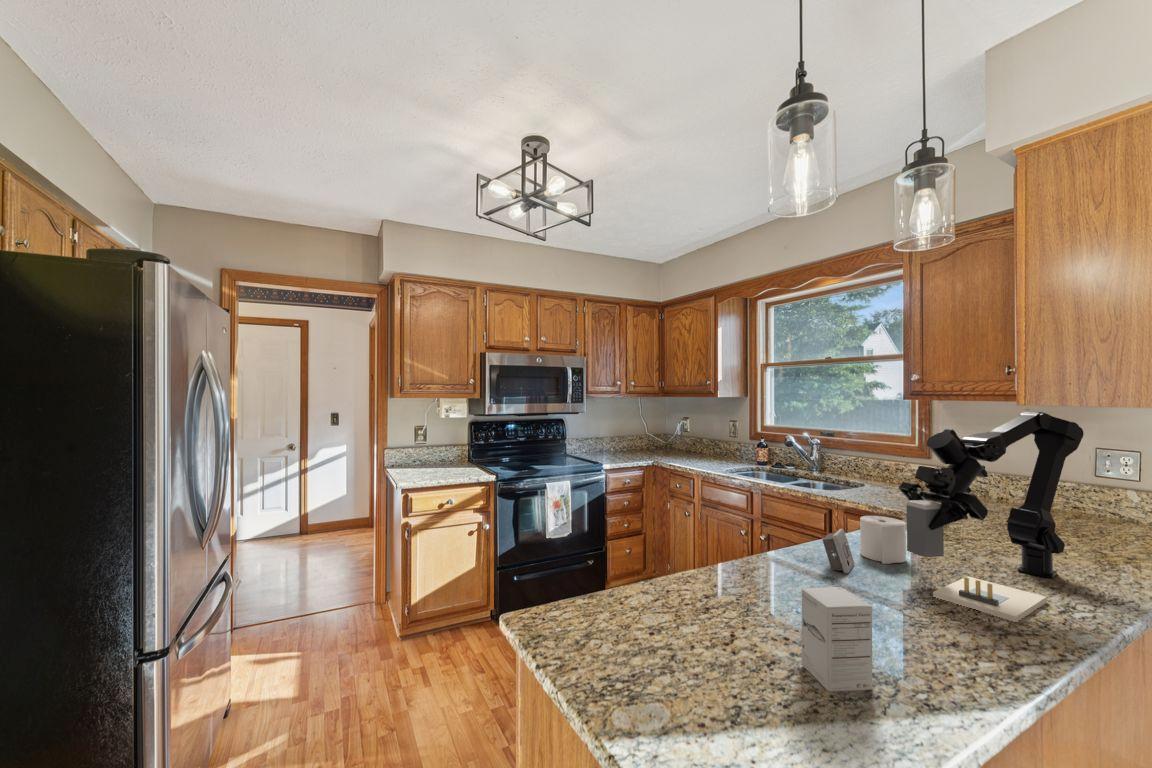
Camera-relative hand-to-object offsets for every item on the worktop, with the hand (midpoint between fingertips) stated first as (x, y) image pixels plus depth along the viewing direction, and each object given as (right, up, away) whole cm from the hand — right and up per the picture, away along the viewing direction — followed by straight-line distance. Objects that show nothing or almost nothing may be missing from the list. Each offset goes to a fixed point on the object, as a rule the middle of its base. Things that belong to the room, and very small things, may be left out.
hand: (919, 525), depth 116 cm
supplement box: (-41, -12, -40) cm, 59 cm away
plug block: (+1, -7, 0) cm, 7 cm away
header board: (+8, -13, -10) cm, 18 cm away
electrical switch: (-14, -14, +10) cm, 22 cm away
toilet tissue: (+3, -14, +18) cm, 23 cm away
